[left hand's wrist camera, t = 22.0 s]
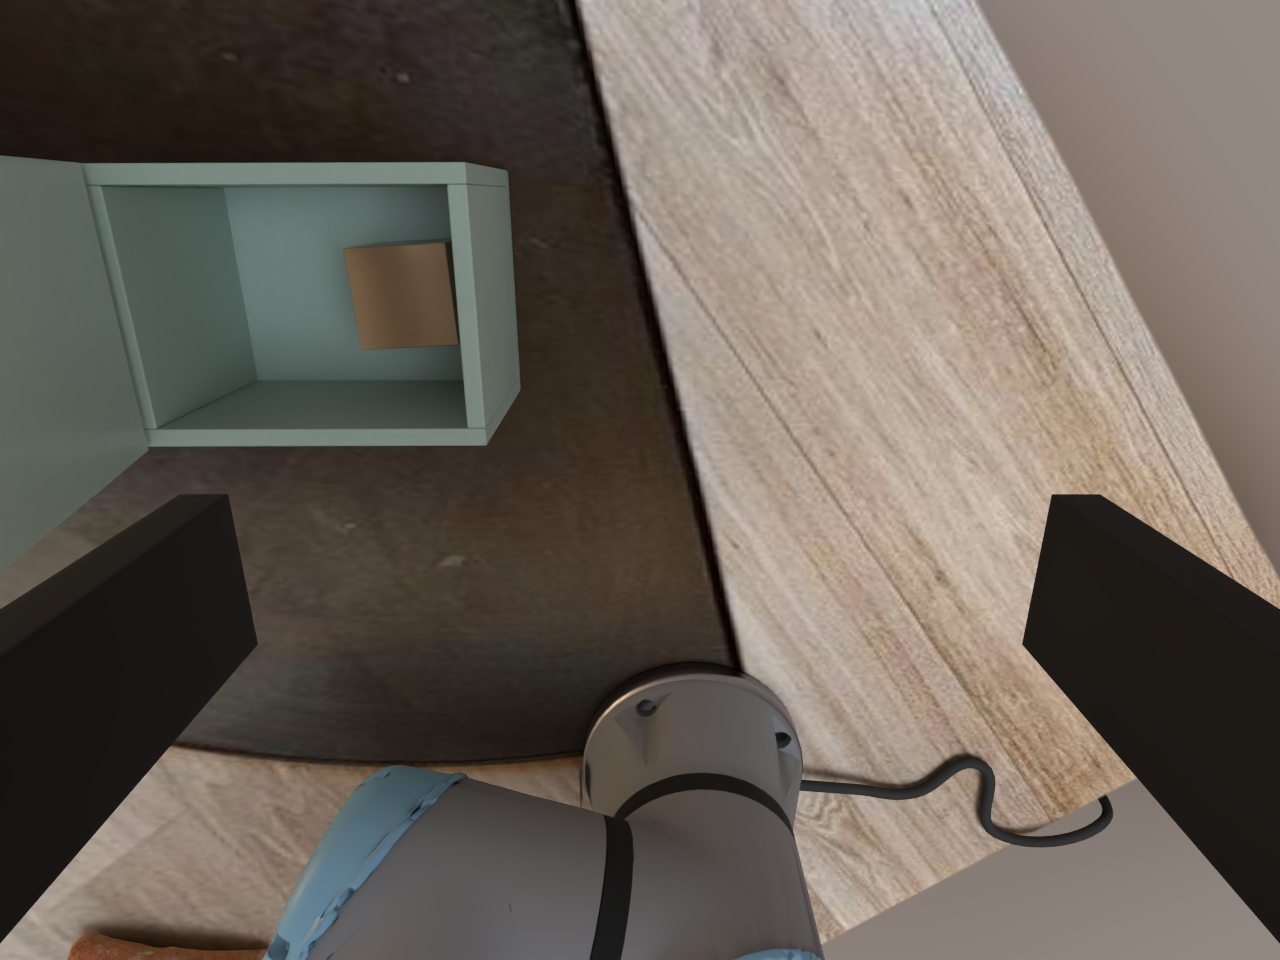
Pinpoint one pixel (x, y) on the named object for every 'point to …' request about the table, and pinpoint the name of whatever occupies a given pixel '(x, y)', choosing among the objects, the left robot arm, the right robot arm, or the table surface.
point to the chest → (302, 301)
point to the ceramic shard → (148, 951)
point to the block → (404, 293)
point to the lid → (56, 357)
